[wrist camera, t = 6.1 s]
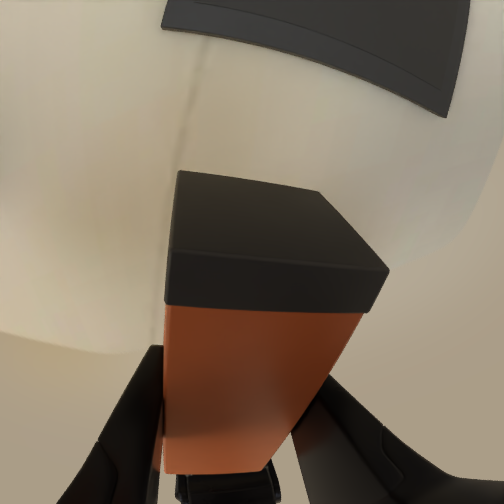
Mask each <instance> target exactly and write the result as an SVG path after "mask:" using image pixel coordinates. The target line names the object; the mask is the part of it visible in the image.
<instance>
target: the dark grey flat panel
mask: <svg viewBox="0 0 504 504" xmlns="http://www.w3.org/2000/svg"><path fill="white" fill-rule="evenodd" d="M469 8H470V0H168V1H167V5H166V8H165V12H164V15H163V19H162V23H161V28H162V29H163V30H172V31H180V32H188V33H195V34H201V35H208V36H214V37H219V38H224V39H230V40H235V41H239V42H244V43H248V44H253V45H257V46H261V47H265V48H269V49H273V50H277V51H280V52H284V53H287V54H291V55H294V56H298V57H301V58H304V59H307V60H310V61H313V62H317V63H320V64H322V65H325V66H328V67H331V68H334V69H337V70H339V71H342V72H345V73H347V74H350V75H352V76H355V77H357V78H360V79H362V80H365V81H367V82H370V83H372V84H374V85H377V86H379V87H381V88H383V89H386V90H388V91H390V92H392V93H394V94H396V95H399V96H401V97H403V98H405V99H407V100H409V101H411V102H413V103H415V104H417V105H419V106H421V107H423V108H425V109H426V110H428V111H430V112H432V113H434V114H436V115H437V116H440V117H443V118H447V114H448V111H449V107H450V103H451V100H452V96H453V92H454V88H455V84H456V80H457V75H458V71H459V66H460V62H461V57H462V52H463V46H464V41H465V35H466V29H467V23H468V16H469Z"/></svg>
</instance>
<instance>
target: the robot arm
mask: <svg viewBox="0 0 504 504" xmlns="http://www.w3.org/2000/svg"><path fill="white" fill-rule="evenodd" d="M163 359H164V345H151V346H150V347H149V349H148V350H147V352H146V354H145V356H144V357H143V359H142V361H141V363H140V364H139V366H138V368H137V369H136V371H135V373H134V375H133V377H132V378H131V380H130V382H129V384H128V385H127V387H126V389H125V390H124V392H123V394H122V396H121V398H120V400H119V401H118V403H117V405H116V407H115V408H114V410H113V412H112V414H111V416H110V417H109V419H108V421H107V423H106V425H105V427H104V428H103V431H102V432H101V434H100V436H99V438H98V441H97V442H96V443H95V445H94V447H93V448H92V450H91V452H90V454H89V456H88V457H87V459H86V461H85V463H84V464H83V466H82V468H81V469H80V471H79V472H78V474H77V475H76V477H75V478H74V480H73V481H72V483H71V484H70V485H69V487H68V488H67V490H66V491H65V492H64V494H63V495H62V496H61V498H60V499H59V500H58V502H57V503H56V504H157V500H158V486H159V475H160V464H161V453H162V445H163ZM291 435H292V439H293V443H294V447H295V450H296V454H297V458H298V462H299V465H300V469H301V473H302V476H303V480H304V484H305V488H306V491H307V495H308V498H309V502H310V504H504V481H492V480H477V479H467V478H459V477H455V476H452V475H449V474H447V473H445V472H444V471H442V470H441V469H439V468H438V467H436V466H435V465H433V464H432V463H431V462H429V461H428V460H426V459H425V458H424V457H422V456H421V455H419V454H418V453H417V452H415V451H414V450H413V449H411V448H410V447H409V446H407V445H406V444H405V443H403V442H402V441H401V440H400V439H399V438H397V436H395V435H394V434H393V433H392V432H391V431H390V430H389V429H387V428H386V427H385V426H383V424H382V423H381V422H380V421H379V420H378V419H377V418H375V417H374V416H373V415H372V414H371V413H370V412H369V411H368V410H367V409H366V408H364V406H362V405H361V404H360V403H359V402H358V401H357V400H356V399H355V398H354V397H353V396H352V395H351V394H350V393H349V392H347V391H346V390H345V389H344V388H343V387H342V386H341V385H340V384H339V383H338V382H337V381H336V380H335V379H334V378H333V377H332V376H331V375H330V374H329V375H328V376H327V378H326V379H325V381H324V383H323V384H322V386H321V387H320V389H319V390H318V392H317V394H316V395H315V397H314V398H313V400H312V401H311V403H310V404H309V406H308V407H307V409H306V410H305V412H304V413H303V415H302V416H301V418H300V419H299V420H298V422H297V423H296V425H295V426H294V428H293V429H292V430H291ZM175 497H176V499H177V500H178V501H180V502H181V504H276V503H280V502H281V491H280V486H279V481H278V478H277V474H276V472H275V469H274V466H273V463H272V460H271V459H270V460H269V461H268V463H267V464H266V465H265V466H264V468H263V469H262V470H261V471H256V472H244V473H228V474H176V488H175Z"/></svg>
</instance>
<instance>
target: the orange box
mask: <svg viewBox="0 0 504 504" xmlns="http://www.w3.org/2000/svg"><path fill="white" fill-rule="evenodd" d="M389 271H390V270H389V268H388V267H387V266H386V265H385V263H384V262H383V261H382V260H381V259H380V258H379V256H378V255H377V254H376V253H375V252H374V251H373V250H372V248H371V247H370V246H369V245H368V244H367V243H366V242H365V241H364V239H363V238H362V237H361V236H360V235H359V234H358V233H357V232H356V231H355V230H354V228H353V227H352V226H351V225H350V224H349V223H348V222H347V221H346V220H345V219H344V218H343V217H342V215H341V214H340V213H339V212H338V211H337V210H336V209H335V208H334V207H333V206H332V205H331V204H330V203H329V202H328V201H327V200H326V199H325V198H324V197H323V196H322V195H321V194H320V193H319V192H318V191H313V190H307V189H302V188H296V187H291V186H285V185H279V184H273V183H267V182H261V181H255V180H248V179H242V178H235V177H228V176H221V175H214V174H206V173H198V172H190V171H182V170H180V171H178V173H177V179H176V186H175V194H174V202H173V210H172V218H171V227H170V237H169V247H168V257H167V269H166V281H165V295H164V301H165V303H166V306H165V322H164V342H163V345H164V359H163V453H164V454H163V456H164V472H165V473H166V474H228V473H244V472H256V471H261V470H262V469H263V468H264V466H265V465H266V464H267V463H268V461H269V460H270V459H271V457H272V456H273V455H274V453H275V452H276V451H277V449H278V448H279V447H280V445H281V444H282V443H283V441H284V440H285V439H286V437H287V436H288V435H289V433H290V432H291V430H292V429H293V428H294V426H295V425H296V423H297V422H298V420H299V419H300V418H301V416H302V415H303V413H304V412H305V410H306V409H307V407H308V406H309V404H310V403H311V401H312V400H313V398H314V397H315V395H316V394H317V392H318V390H319V389H320V387H321V386H322V384H323V383H324V381H325V379H326V378H327V376H328V375H329V373H330V371H331V370H332V368H333V366H334V365H335V363H336V362H337V360H338V358H339V356H340V355H341V353H342V351H343V349H344V348H345V346H346V344H347V343H348V341H349V339H350V337H351V336H352V334H353V332H354V330H355V328H356V326H357V325H358V323H359V321H360V319H361V318H362V316H363V314H364V313H368V312H369V311H370V309H371V308H372V306H373V304H374V302H375V300H376V298H377V296H378V294H379V292H380V290H381V288H382V286H383V284H384V282H385V280H386V278H387V276H388V274H389Z"/></svg>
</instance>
